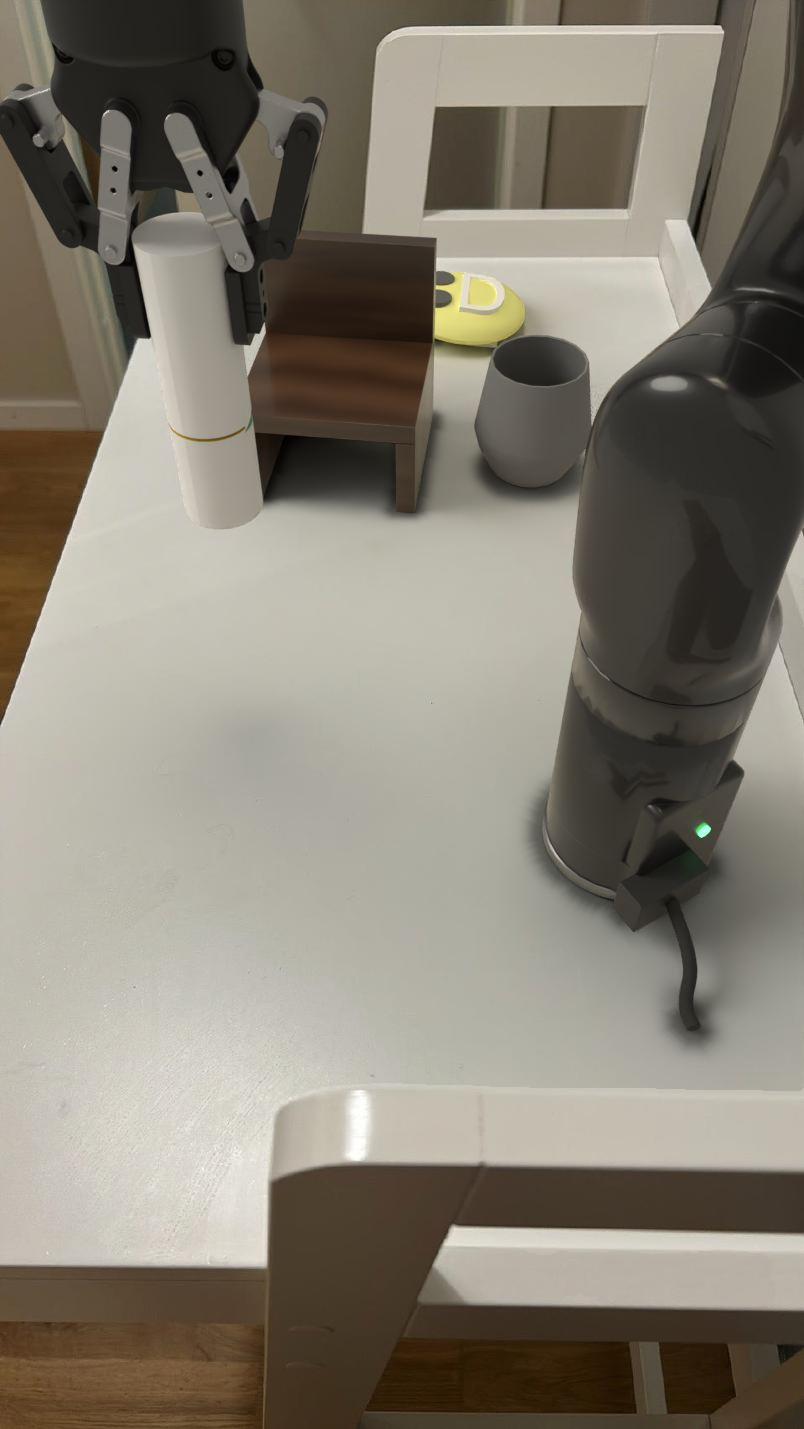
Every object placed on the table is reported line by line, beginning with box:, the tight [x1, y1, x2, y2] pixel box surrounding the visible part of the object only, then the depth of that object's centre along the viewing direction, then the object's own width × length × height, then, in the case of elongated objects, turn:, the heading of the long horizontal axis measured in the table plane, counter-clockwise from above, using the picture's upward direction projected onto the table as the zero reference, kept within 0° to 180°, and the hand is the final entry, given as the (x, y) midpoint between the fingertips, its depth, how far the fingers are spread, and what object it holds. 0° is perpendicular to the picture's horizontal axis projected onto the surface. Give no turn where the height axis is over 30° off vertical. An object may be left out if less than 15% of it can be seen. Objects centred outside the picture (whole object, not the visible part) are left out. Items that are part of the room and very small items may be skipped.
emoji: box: [435, 270, 526, 349], centre depth 101 cm, size 4×12×12 cm
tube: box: [132, 211, 264, 530], centre depth 52 cm, size 4×4×15 cm
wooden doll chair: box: [247, 229, 438, 513], centre depth 83 cm, size 14×14×16 cm
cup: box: [473, 334, 593, 489], centre depth 84 cm, size 10×9×10 cm
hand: (197, 332), depth 50 cm, fingers closed on tube, 4 cm apart
